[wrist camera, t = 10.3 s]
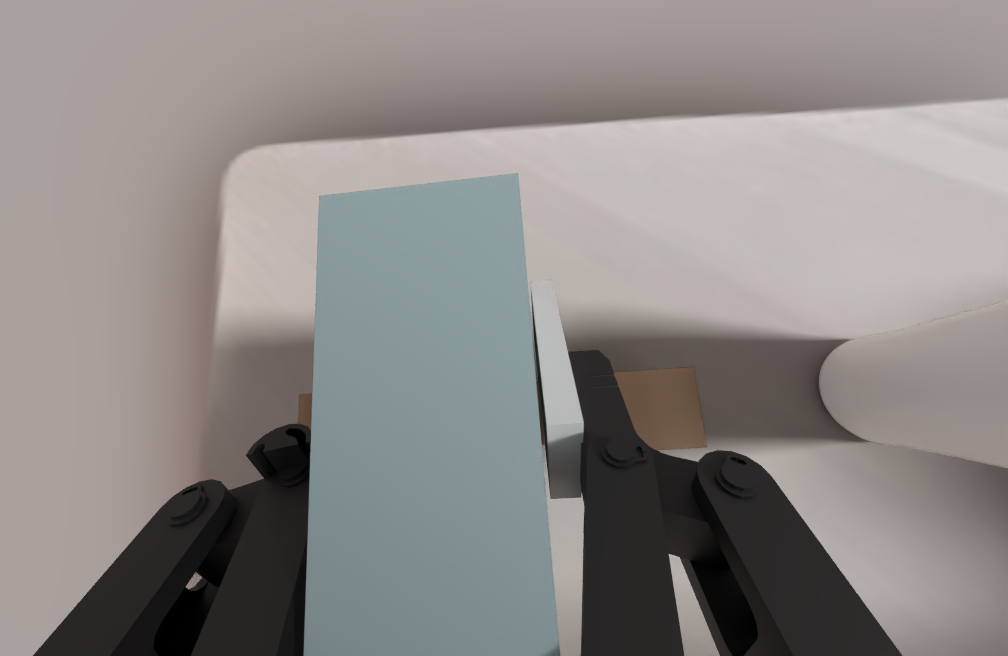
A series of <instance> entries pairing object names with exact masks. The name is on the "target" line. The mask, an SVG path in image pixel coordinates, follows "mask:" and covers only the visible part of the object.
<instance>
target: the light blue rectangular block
mask: <svg viewBox="0 0 1008 656" xmlns="http://www.w3.org/2000/svg"><path fill="white" fill-rule="evenodd" d="M304 656H560V650H559V638H558V627H557V615H556V604H555V592H554V581H553V569H552V558H551V546H550V535H549V523H548V512H547V500H546V489H545V477H544V466H543V454H542V443H541V431H540V420H539V408H538V397H537V385H536V374H535V362H534V351H533V339H532V327H531V316H530V304H529V293H528V281H527V270H526V258H525V247H524V235H523V224H522V212H521V201H520V189H519V178H518V173H515V174H506V175H498V176H489V177H480V178H471V179H463V180H454V181H445V182H436V183H428V184H419V185H410V186H402V187H393V188H384V189H375V190H367V191H358V192H349V193H341V194H332V195H323V196H319V214H318V244H317V274H316V303H315V333H314V363H313V393H312V422H311V452H310V482H309V512H308V542H307V571H306V601H305V631H304Z"/></svg>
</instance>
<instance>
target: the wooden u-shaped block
mask: <svg viewBox="0 0 1008 656" xmlns="http://www.w3.org/2000/svg"><path fill="white" fill-rule="evenodd" d="M614 376H615V377H616V380H617V383H618V387H619V388H620V391H621V394H622V396H623V399H624V402H625V405H626V407H627V410H628V413H629V415H630V418H631V421H632V424H633V426H634V429H635V431H636V433H637V434H638V436H639V437H640V438H641V439H642V440H643V441H644V442H645V443H646V444H647V445H649V446H650V447H651V448H653V449H655V450H666V449H684V448H702V447H707V444H706V438H705V432H704V426H703V420H702V414H701V408H700V402H699V396H698V390H697V384H696V378H695V372H694V367H684V368H669V369H655V370H641V371H626V372H614ZM536 385H537V397H538V408H539V420H540V431H541V443H542V445H545V439H544V429H543V420H542V410H541V400H540V391H539V381H536ZM311 422H312V394H299V417H298V424H303V425H305V426H308V427H309V428H310V430H311Z"/></svg>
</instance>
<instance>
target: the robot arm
mask: <svg viewBox="0 0 1008 656" xmlns="http://www.w3.org/2000/svg"><path fill="white" fill-rule="evenodd" d="M530 283H531V298H532V313H533V327H534V342H535V352H536V362H537V371H538V381H539V391H540V400H541V410H542V420H543V429H544V439H545V449H546V458H547V468H548V478H549V488H550V497H551V499H557V498H578V497H581V492H582V495H583V501H584V506H585V509H584V532H583V533H584V547H583V591H582V636H581V656H684V651H683V644H682V638H681V632H680V625H679V619H678V612H677V606H676V599H675V593H674V587H673V580H672V574H671V567H670V561H669V554H672V555H675V556H678V557H680V559H681V561H682V564H683V566H684V569H685V571H686V573H687V576H688V578H689V581H690V583H691V586H692V588H693V591H694V593H695V596H696V598H697V600H698V603H699V605H700V608H701V610H702V613H703V615H704V618H705V620H706V622H707V625H708V627H709V630H710V632H711V635H712V637H713V640H714V642H715V644H716V647H717V649H718V652H719V654H720V656H902V655H901V653H900V652H899V650H898V649H897V648H896V646H895V645H894V644H893V642H892V641H891V639H890V638H889V637H888V635H887V634H886V633H885V631H884V630H883V629H882V627H881V626H880V624H879V623H878V622H877V620H876V619H875V618H874V616H873V615H872V613H871V612H870V611H869V609H868V608H867V607H866V605H865V604H864V602H863V601H862V600H861V598H860V597H859V596H858V594H857V593H856V592H855V590H854V589H853V587H852V586H851V585H850V583H849V582H848V581H847V579H846V578H845V576H844V575H843V574H842V572H841V571H840V570H839V568H838V567H837V565H836V564H835V563H834V561H833V560H832V559H831V557H830V556H829V555H828V553H827V552H826V550H825V549H824V548H823V546H822V545H821V544H820V542H819V541H818V539H817V538H816V537H815V535H814V534H813V533H812V531H811V530H810V528H809V527H808V526H807V524H806V523H805V522H804V520H803V519H802V518H801V516H800V515H799V513H798V512H797V511H796V509H795V508H794V507H793V505H792V504H791V502H790V501H789V500H788V498H787V497H786V496H785V494H784V493H783V491H782V490H781V489H780V487H779V486H778V485H777V483H776V482H775V481H774V479H773V478H772V476H771V475H770V474H769V473H768V472H767V471H766V470H765V469H764V468H763V467H762V466H761V465H759V464H758V463H756V462H755V461H753V460H751V459H750V458H748V457H747V456H744V455H741V454H738V453H735V452H732V451H719V450H717V451H714V452H710V453H707V454H705V455H704V456H703V457H702V458H701V459H700V460H699V462H696V461H691V460H687V459H682V458H678V457H673V456H669V455H666V454H663V453H661V452H659V451H657V450H655V449H653V448H651V447H650V446H649V445H647V444H646V443H645V442H644V441H643V440H642V439H641V438H640V437H639V436H638V434H637V433H636V431H635V429H634V426H633V424H632V421H631V418H630V415H629V413H628V410H627V407H626V405H625V402H624V399H623V396H622V394H621V391H620V388H619V387H618V383H617V380H616V377H615V376H614V372H613V369H612V367H611V364H610V361H609V360H608V359H607V358H606V357H605V356H604V355H603V354H602V353H601V352H600V351H599V350H591V351H577V352H568V350H567V346H566V341H565V337H564V333H563V328H562V324H561V319H560V315H559V310H558V306H557V301H556V297H555V293H554V288H553V284H552V280H542V281H531V282H530ZM310 452H311V430H310V428H309V427H308V426H305V425H303V424H288V425H285V426H282V427H279V428H276V429H275V430H273V431H271V432H269V433H268V434H266V435H264V436H263V437H262V438H261V439H259V440H258V441H257V442H256V443H255V444H254V445H253V446H252V447H251V449H250V450H249V452H248V453H247V454H246V456H247V457H248V459H249V460H250V461H251V462H252V464H253V465H254V466H255V467H256V469H257V470H258V471H259V472H260V474H261V475H262V476H263V477H264V479H262V480H259V481H256V482H253V483H250V484H247V485H244V486H241V487H238V488H235V489H232V490H228V489H227V488H226V487H225V486H224V485H223V484H222V482H221V481H216V480H206V481H201V482H198V483H196V484H193V485H191V486H189V487H187V488H185V489H183V490H182V491H180V492H179V493H178V494H176V495H174V496H173V497H172V498H171V499H170V500H169V501H168V502H167V503H166V504H165V505H163V506H162V507H161V508H160V509H159V511H158V512H157V513H156V514H155V515H154V516H153V517H152V519H151V520H150V521H149V522H148V523H147V524H146V526H145V527H144V528H143V529H142V530H141V531H140V533H139V534H138V535H137V536H136V537H135V538H134V540H133V541H132V542H131V543H130V544H129V545H128V547H127V548H126V549H125V550H124V551H123V552H122V553H121V555H120V556H119V557H118V558H117V559H116V560H115V561H114V563H113V564H112V565H111V566H110V567H109V568H108V570H107V571H106V572H105V573H104V574H103V575H102V577H101V578H100V579H99V580H98V581H97V582H96V583H95V585H94V586H93V587H92V588H91V589H90V590H89V592H88V593H87V594H86V595H85V596H84V597H83V599H82V600H81V601H80V602H79V603H78V604H77V605H76V607H75V608H74V609H73V610H72V611H71V612H70V613H69V615H68V616H67V617H66V618H65V619H64V621H63V622H62V623H61V624H60V625H59V626H58V627H57V629H56V630H55V631H54V632H53V633H52V634H51V636H50V637H49V638H48V639H47V640H46V641H45V642H44V644H43V645H42V646H41V647H40V648H39V649H38V650H37V652H36V653H35V654H34V655H33V656H304V631H305V601H306V571H307V542H308V512H309V482H310ZM195 572H196V573H198V574H199V575H200V576H202V579H201V580H200V581H199V582H198V583H197V585H196V586H195V587H193V588H191V589H187V588H186V585H187V584H188V582H189V581H190V579H191V578H192V576H193V575H194V573H195Z"/></svg>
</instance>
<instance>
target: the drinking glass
mask: <svg viewBox="0 0 1008 656" xmlns="http://www.w3.org/2000/svg"><path fill="white" fill-rule="evenodd" d="M819 390H820V395H821V398H822V400H823V403H824V405H825V407H826V409H827V410H828V412H829V413H830V414H831V416H832V417H833V418H834V419H835V420H836V421H837V422H838V423H839V424H840V425H841V426H842V427H843V428H845V429H846V430H848V431H849V432H851V433H852V434H854V435H856V436H858V437H860V438H862V439H865V440H868V441H871V442H875V443H879V444H884V445H891V446H898V447H906V448H913V449H918V450H923V451H927V452H932V453H937V454H942V455H947V456H951V457H956V458H961V459H965V460H970V461H975V462H979V463H984V464H989V465H993V466H998V467H1003V468H1007V469H1008V300H1007V301H1003V302H1000V303H996V304H992V305H989V306H985V307H981V308H978V309H974V310H970V311H966V312H963V313H959V314H955V315H952V316H948V317H944V318H940V319H937V320H933V321H929V322H925V323H922V324H918V325H914V326H910V327H907V328H903V329H899V330H895V331H891V332H887V333H882V334H876V335H870V336H865V337H860V338H856V339H853V340H850V341H847V342H845V343H843V344H841V345H840V346H838V347H837V348H835V349H834V350H833V351H832V352H831V353H830V354H829V355H828V356H827V358H826V359H825V361H824V362H823V365H822V367H821V370H820V374H819Z"/></svg>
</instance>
